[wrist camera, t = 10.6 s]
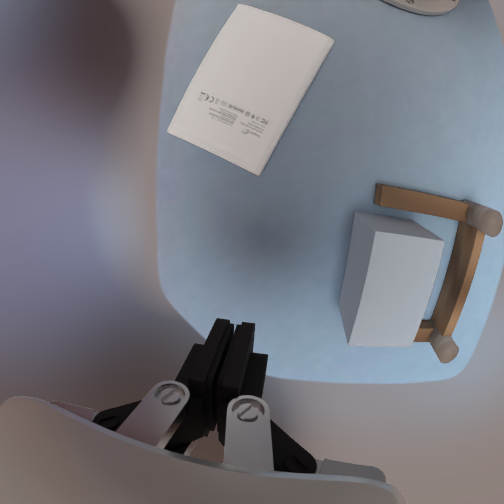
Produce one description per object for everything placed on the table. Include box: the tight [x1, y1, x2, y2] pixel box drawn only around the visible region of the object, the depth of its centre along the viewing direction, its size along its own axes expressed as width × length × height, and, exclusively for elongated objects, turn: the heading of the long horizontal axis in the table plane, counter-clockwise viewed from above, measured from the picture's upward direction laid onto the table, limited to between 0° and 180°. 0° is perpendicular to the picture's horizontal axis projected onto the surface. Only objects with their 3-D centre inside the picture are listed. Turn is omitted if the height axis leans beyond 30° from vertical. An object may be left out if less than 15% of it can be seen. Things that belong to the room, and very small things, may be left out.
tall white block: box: [338, 211, 445, 347], centre depth 19 cm, size 8×5×6 cm, turn 176°
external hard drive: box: [167, 4, 335, 176], centre depth 18 cm, size 2×8×12 cm
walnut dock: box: [374, 184, 503, 363], centre depth 19 cm, size 14×10×4 cm
